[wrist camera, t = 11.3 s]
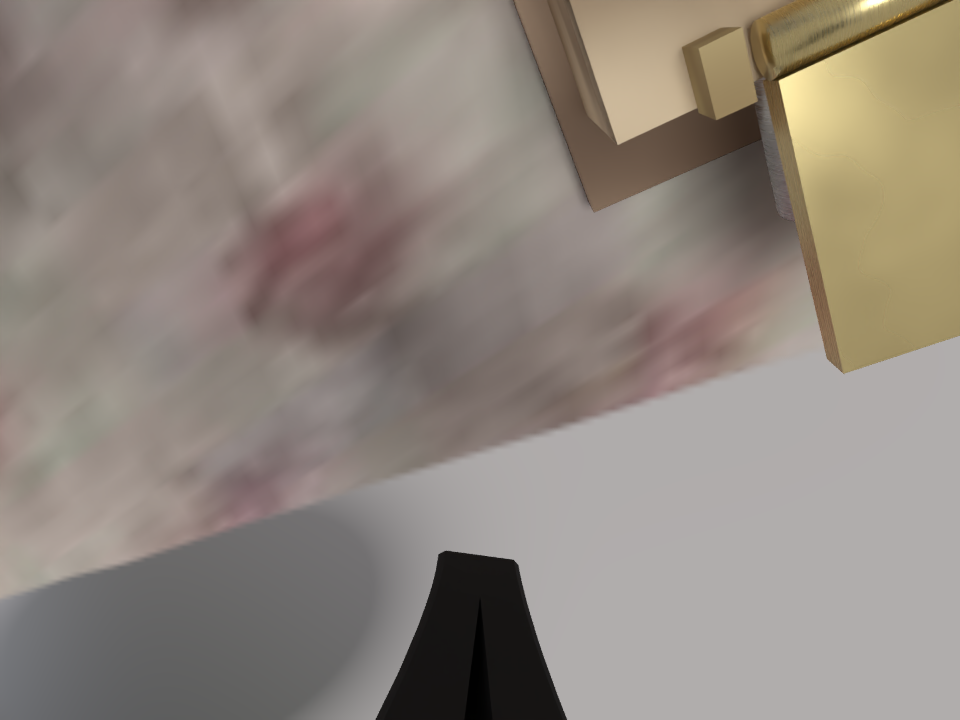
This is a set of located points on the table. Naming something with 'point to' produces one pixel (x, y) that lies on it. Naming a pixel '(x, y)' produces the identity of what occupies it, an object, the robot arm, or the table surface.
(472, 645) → the robot arm
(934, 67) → the brass hinge flap
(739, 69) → the hitch block
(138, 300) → the table surface
